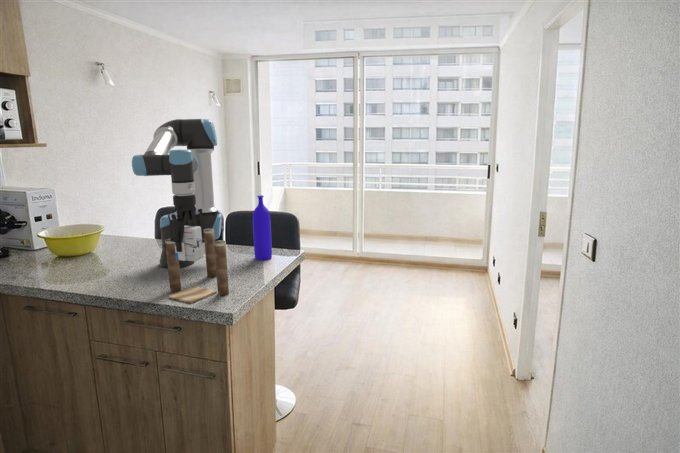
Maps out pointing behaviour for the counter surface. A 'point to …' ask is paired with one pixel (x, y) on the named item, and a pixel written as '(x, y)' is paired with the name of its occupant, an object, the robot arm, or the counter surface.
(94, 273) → the counter surface
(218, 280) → the corner post
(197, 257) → the ink box
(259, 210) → the bottle
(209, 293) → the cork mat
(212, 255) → the gate post
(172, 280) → the gate post
